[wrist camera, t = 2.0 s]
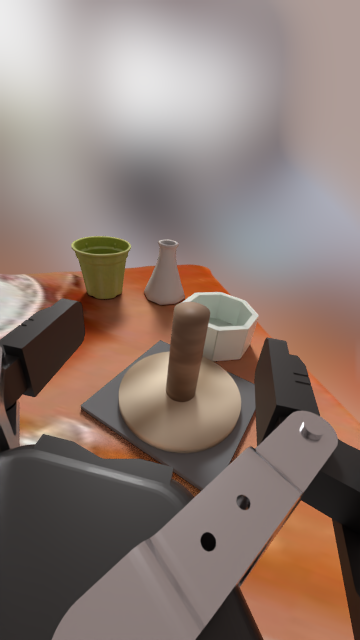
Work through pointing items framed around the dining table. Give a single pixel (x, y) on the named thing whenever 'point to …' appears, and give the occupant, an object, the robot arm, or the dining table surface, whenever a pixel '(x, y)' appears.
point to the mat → (187, 465)
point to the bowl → (226, 325)
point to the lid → (181, 391)
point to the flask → (165, 277)
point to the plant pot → (102, 264)
